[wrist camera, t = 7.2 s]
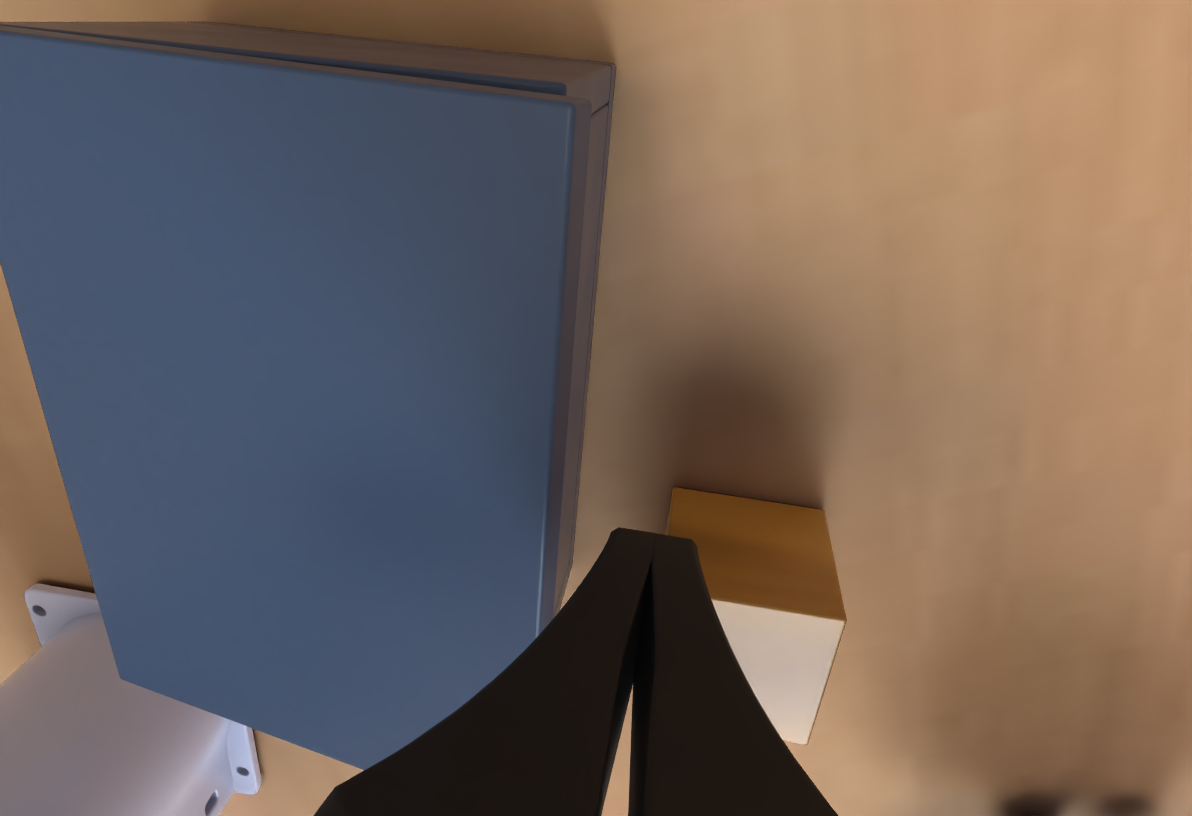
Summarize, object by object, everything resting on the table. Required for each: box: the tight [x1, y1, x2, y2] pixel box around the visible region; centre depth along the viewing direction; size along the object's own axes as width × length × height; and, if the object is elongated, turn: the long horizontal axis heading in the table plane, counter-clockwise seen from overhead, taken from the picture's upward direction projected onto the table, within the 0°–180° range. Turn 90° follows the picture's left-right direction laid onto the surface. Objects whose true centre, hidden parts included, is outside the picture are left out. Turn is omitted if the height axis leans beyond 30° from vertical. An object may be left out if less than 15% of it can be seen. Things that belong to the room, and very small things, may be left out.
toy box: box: [0, 22, 616, 618], centre depth 18 cm, size 10×15×6 cm
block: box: [665, 487, 847, 745], centre depth 21 cm, size 4×4×5 cm
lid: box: [0, 25, 592, 770], centre depth 15 cm, size 11×15×1 cm
